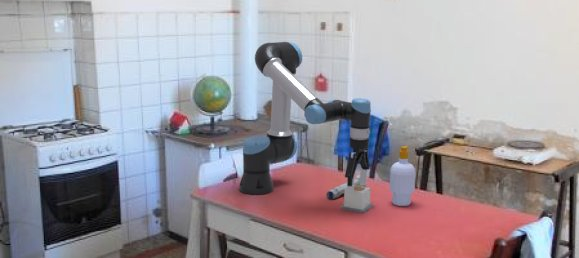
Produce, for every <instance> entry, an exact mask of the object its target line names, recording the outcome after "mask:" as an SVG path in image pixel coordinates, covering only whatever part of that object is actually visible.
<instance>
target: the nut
mask: <svg viewBox="0 0 579 258" xmlns="http://www.w3.org/2000/svg"><path fill="white" fill-rule="evenodd" d="M354 186H355V185H354ZM343 195H344V199H343V200H344V201H343V205H344V206H345V207H350V208H356V209H361V210H363V209H364V208H366V207H367V206H368V205H369V204H370V203H371V187H367V186H366V187H363V186H361V191H356V190H354V194H349V193H347V189H345V191H344V193H343Z"/></svg>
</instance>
